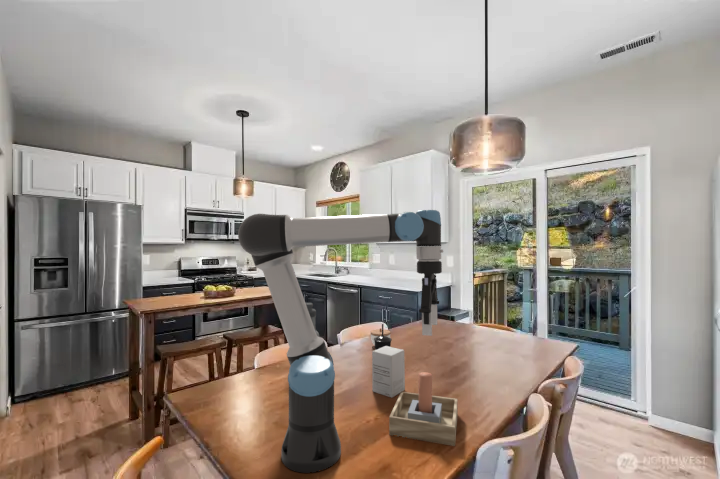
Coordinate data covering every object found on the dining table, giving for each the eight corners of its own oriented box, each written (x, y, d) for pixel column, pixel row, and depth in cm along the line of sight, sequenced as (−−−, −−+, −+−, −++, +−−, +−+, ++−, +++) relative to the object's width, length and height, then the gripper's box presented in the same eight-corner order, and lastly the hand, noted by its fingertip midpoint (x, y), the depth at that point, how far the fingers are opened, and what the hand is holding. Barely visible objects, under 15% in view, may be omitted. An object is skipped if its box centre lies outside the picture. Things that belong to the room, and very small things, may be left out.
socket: (439, 431, 98) (439, 417, 98) (407, 426, 100) (407, 412, 101) (441, 416, 106) (441, 403, 106) (412, 412, 109) (412, 399, 109)
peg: (431, 425, 101) (431, 377, 101) (417, 423, 102) (417, 376, 102) (432, 419, 105) (432, 373, 105) (419, 417, 106) (419, 371, 106)
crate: (455, 446, 92) (454, 427, 92) (389, 434, 98) (389, 417, 98) (457, 414, 109) (457, 398, 109) (401, 406, 115) (401, 391, 115)
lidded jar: (367, 344, 187) (367, 327, 188) (386, 342, 191) (386, 325, 191) (374, 350, 177) (374, 331, 177) (393, 348, 180) (393, 330, 181)
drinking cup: (370, 372, 146) (370, 324, 146) (378, 366, 153) (378, 321, 153) (387, 375, 142) (387, 326, 143) (394, 369, 149) (394, 323, 150)
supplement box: (385, 383, 134) (385, 345, 134) (405, 390, 128) (405, 349, 128) (371, 391, 127) (371, 350, 127) (391, 398, 121) (391, 355, 121)
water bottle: (294, 364, 156) (295, 302, 156) (315, 361, 159) (316, 301, 160) (299, 371, 146) (299, 305, 147) (321, 368, 150) (321, 304, 150)
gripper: (436, 262, 93) (438, 341, 93) (445, 258, 117) (446, 321, 116) (409, 262, 96) (410, 339, 95) (423, 258, 119) (424, 320, 119)
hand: (430, 329), depth 106 cm, fingers open, 13 cm apart
